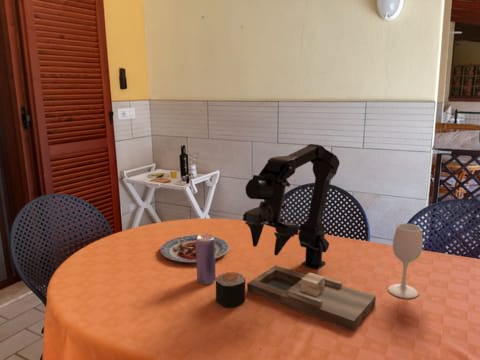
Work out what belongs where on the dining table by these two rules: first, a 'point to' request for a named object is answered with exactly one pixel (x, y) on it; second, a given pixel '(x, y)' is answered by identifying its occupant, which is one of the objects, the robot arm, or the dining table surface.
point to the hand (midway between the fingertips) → (265, 250)
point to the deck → (314, 297)
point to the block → (312, 284)
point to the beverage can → (205, 259)
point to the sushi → (230, 289)
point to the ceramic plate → (190, 248)
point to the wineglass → (406, 256)
